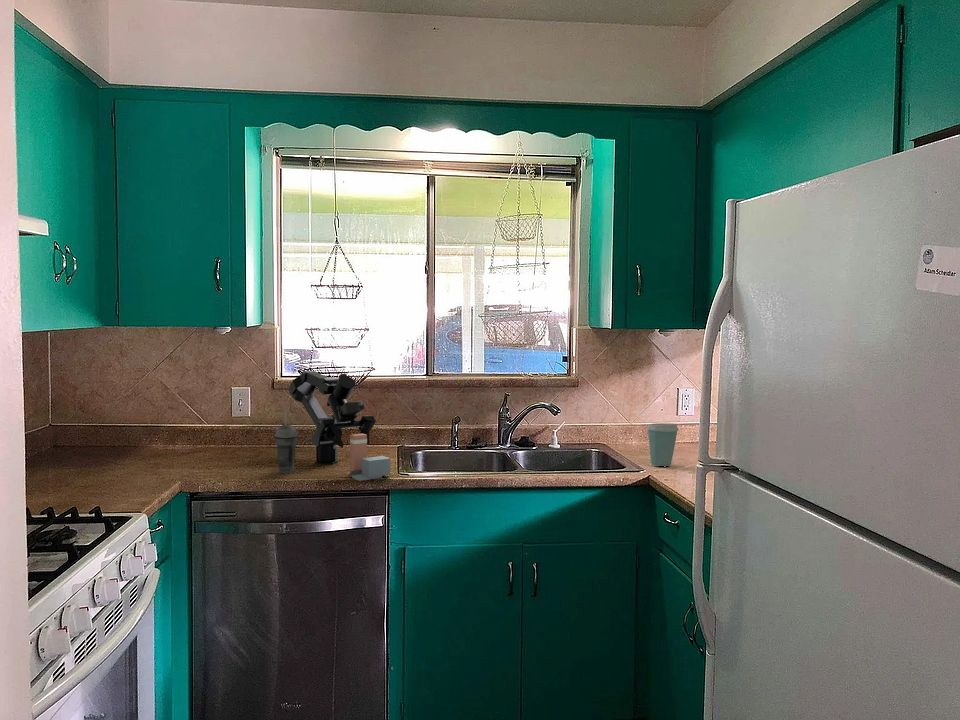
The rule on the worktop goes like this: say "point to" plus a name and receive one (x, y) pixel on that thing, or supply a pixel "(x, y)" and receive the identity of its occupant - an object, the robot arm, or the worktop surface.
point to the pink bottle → (357, 450)
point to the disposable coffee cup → (662, 442)
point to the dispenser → (372, 468)
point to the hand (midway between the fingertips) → (355, 445)
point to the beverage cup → (286, 447)
